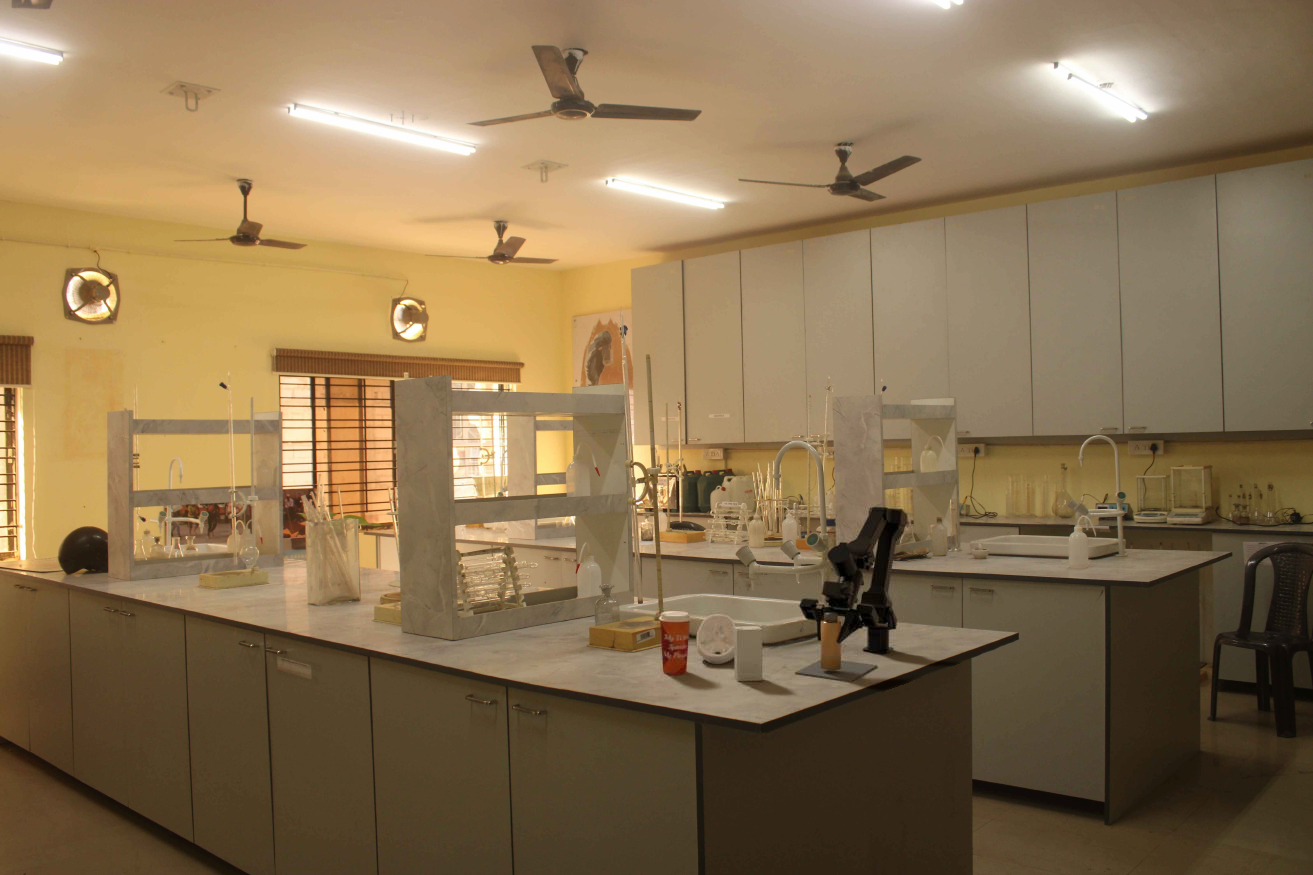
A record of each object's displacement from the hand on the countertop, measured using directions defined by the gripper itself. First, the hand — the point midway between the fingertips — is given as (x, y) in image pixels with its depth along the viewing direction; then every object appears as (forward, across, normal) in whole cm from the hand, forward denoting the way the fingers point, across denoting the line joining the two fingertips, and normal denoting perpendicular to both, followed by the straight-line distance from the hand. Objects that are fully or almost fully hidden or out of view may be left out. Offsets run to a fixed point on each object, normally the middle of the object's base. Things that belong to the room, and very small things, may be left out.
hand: (828, 641), depth 227 cm
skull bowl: (+7, -30, +5) cm, 31 cm away
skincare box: (+16, -13, -5) cm, 22 cm away
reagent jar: (+4, 0, +6) cm, 7 cm away
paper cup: (+19, -31, -8) cm, 37 cm away
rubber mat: (+2, 0, +9) cm, 10 cm away
